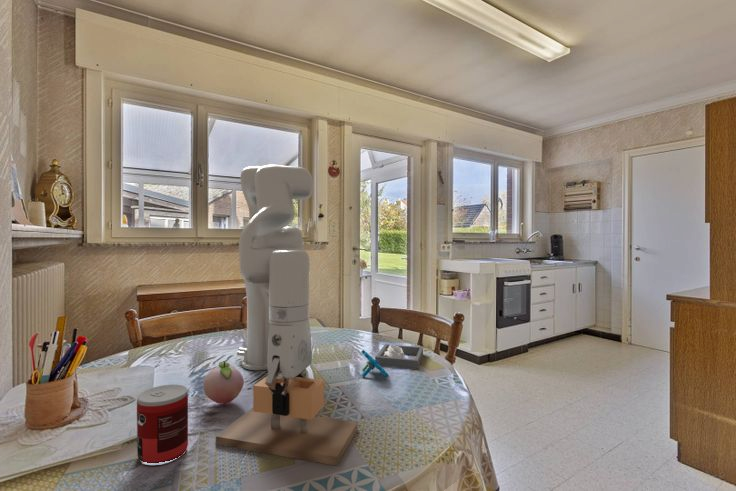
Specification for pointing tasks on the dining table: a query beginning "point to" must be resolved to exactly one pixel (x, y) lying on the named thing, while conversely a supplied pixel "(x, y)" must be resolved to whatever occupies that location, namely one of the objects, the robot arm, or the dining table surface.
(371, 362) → the gear
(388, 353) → the whipped cream
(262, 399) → the block with square holes
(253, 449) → the locating board
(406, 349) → the frame
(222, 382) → the decorative fruit
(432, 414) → the dining table surface
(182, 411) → the canned food
